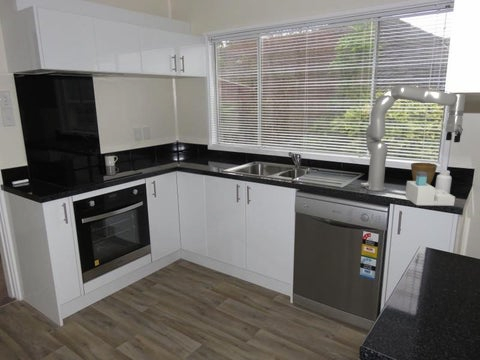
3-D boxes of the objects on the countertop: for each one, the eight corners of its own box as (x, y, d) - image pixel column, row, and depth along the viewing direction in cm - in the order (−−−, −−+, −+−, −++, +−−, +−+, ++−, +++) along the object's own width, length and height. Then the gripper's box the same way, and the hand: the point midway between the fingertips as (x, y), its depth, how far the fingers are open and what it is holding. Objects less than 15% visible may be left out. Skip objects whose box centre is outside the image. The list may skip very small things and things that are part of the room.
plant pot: (421, 184, 237) (423, 161, 233) (439, 189, 223) (442, 165, 219) (403, 186, 232) (405, 163, 229) (421, 192, 219) (423, 167, 215)
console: (416, 205, 193) (418, 188, 191) (405, 197, 209) (407, 181, 206) (453, 205, 192) (456, 188, 189) (439, 197, 207) (441, 181, 205)
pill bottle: (445, 197, 207) (448, 172, 204) (432, 194, 214) (434, 170, 210) (451, 194, 212) (454, 170, 208) (438, 192, 218) (441, 168, 215)
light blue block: (417, 192, 197) (419, 173, 195) (414, 190, 201) (416, 171, 199) (425, 192, 197) (427, 173, 194) (421, 190, 201) (424, 171, 198)
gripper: (442, 113, 222) (439, 139, 226) (457, 114, 205) (453, 143, 209) (454, 112, 221) (451, 139, 225) (470, 114, 204) (466, 143, 209)
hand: (452, 141), depth 217 cm, fingers open, 9 cm apart
